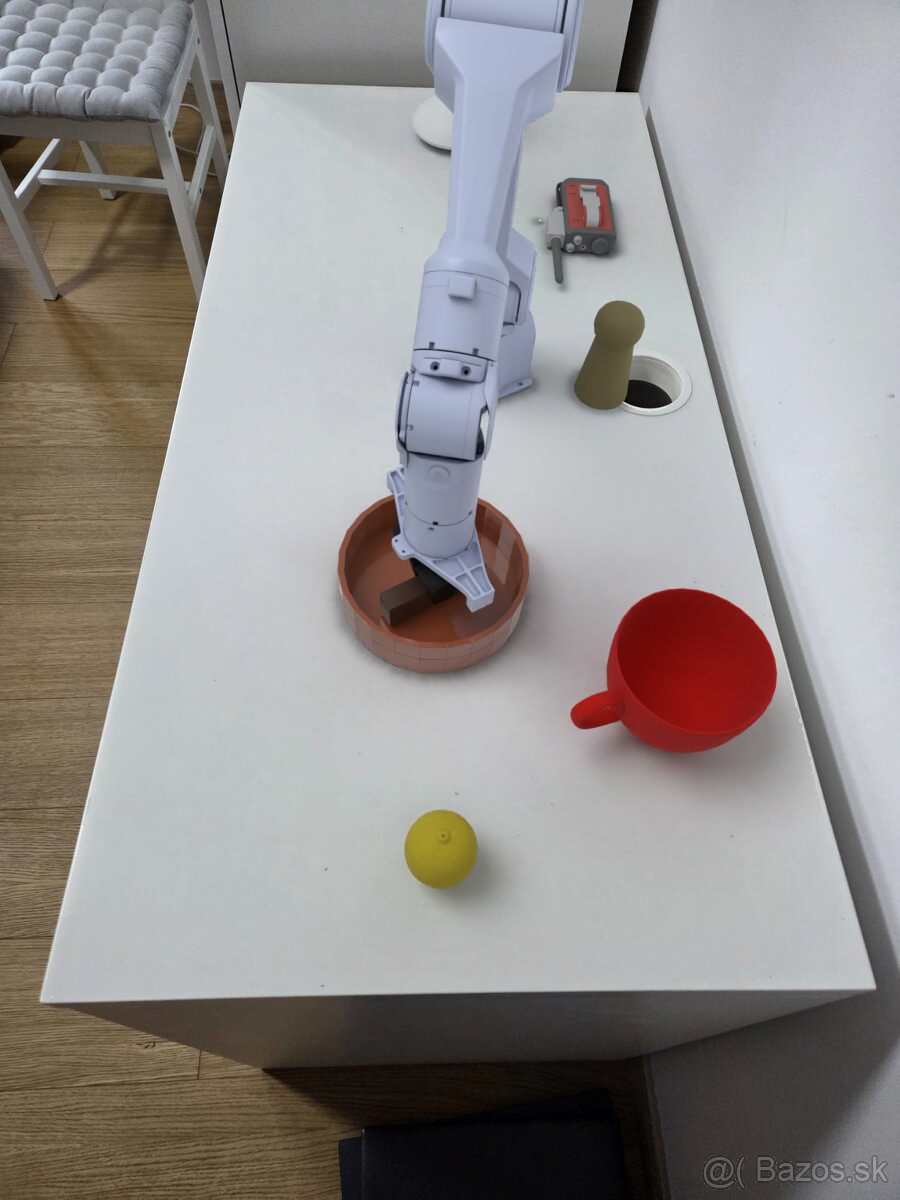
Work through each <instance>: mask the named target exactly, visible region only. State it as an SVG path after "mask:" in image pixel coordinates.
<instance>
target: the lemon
mask: <svg viewBox="0 0 900 1200" xmlns="http://www.w3.org/2000/svg"><path fill="white" fill-rule="evenodd" d="M405 837H406V838H405V840H404V850H403V851H404V853H403V854H404V858H405V863H406V866H407V867H408V869H409V872H410V873H411V874H412V876H414V878H415V879H416V880H417V881H419V882H420V883H422V884H423V885H425V886H427V887H431V888H434V889H447V888H452V887H454V886H456V885H458V884H460V883H462V882H463V881H464V880H465V879H466V878H467V877H468V876H469V875H470V874H471V872H472V871H473V869H474V867H475V865H476V861H477V859H478V848H479V846H478V839H477V835H476V832H475V831H474V829H473V827H472V825H471V824H470V822H469V821H468V820H467V819H466V818H465V817H463V816H462V815H461V814H459V813H458V812H455V811H453V810H447V809H435V810H431V811H429V812H426V813H424V814H423V815H421V816H420V817H418V818H417V819H416V820H415V821H414V823H412V824H411V826H410V828H409V830H408V832H407V833H406V836H405Z"/></svg>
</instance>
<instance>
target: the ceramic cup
mask: <svg viewBox="0 0 900 1200" xmlns="http://www.w3.org/2000/svg"><path fill="white" fill-rule="evenodd" d="M614 632H615V633H614V635H613V637H612V640H611V644H610V648H609V652H608V657H607V663H606V688H607V690H604V691H600V692H596V693H594V694H591V695H589V696H587V697H585V698H583V699H582V700H580V701H579V702H576V704H575V705H574V706H572V708H571V709H570V712H569V716H570V717H569V718H570V720H571V722H572V723H573V725H574V726H575V727H576V728H577V729H579V730H591V729H596V728H600V727H604V726H607V725H610V724H614V723H617V722H621V723H622V724H623V726H624V727H625V728H626V729H627V730H628V731H629V732H630V733H631V734H632V735H633V736H634V737H636V738H637V739H638V740H640V741H641V742H643V743H644V744H646V745H648V746H651V747H653V748H655V749H658V750H660V751H665V752H668V753H676V754H694V753H701V752H706V751H708V750H712V749H715V748H718V747H720V746H722V745H724V744H726V743H728V742H729V741H731V740H733V739H735V738H736V737H738V736H739V735H741V734H742V733H744V732H745V731H747V730H748V729H749V728H750V727H751V726H753V724H754V723H755V722H757V721H758V720H759V719H760V718H761V717H762V716H763V715H764V713H765V712H766V710H767V709H768V707H769V706H770V704H771V703H772V701H773V698H774V694H775V691H776V689H777V679H778V670H777V662H776V657H775V654H774V651H773V648H772V646H771V645H772V644H770V642H769V640H768V638H767V636H766V634H765V633H764V630H762V628H761V627H760V626H759V625H758V623H756V621H755V620H754V619H753V618H752V617H751V616H750V615H748V614H747V612H745V611H744V610H743V609H742V608H740V607H739V606H737V605H736V604H734V603H733V602H731V601H729V600H728V599H726V598H723V597H721V596H719V595H717V594H715V593H713V592H708V591H704V590H700V589H696V588H695V589H694V588H685V587H680V588H679V587H678V588H667V589H663V590H659V591H656V592H652V593H651V594H648V595H646V596H644V597H642V598H641V599H639V600H638V601H637V602H636V603H634V604H633V605H632V606H631V607H630V608H629V609H628V610H627V612H626V613H625V614H624V615H623V617H622V618H621V620H620V622H619V624H618V626H617V628H616V630H615V631H614Z"/></svg>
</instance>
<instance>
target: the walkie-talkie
mask: <svg viewBox="0 0 900 1200" xmlns="http://www.w3.org/2000/svg"><path fill="white" fill-rule="evenodd" d="M555 186H556V187H555V195H556V196H555V197H556V206H555V207H554V209H553V210H552V211H551V212H550V213H549V214H548V215H547V219H546V224H545V235H546V238H545V247H546V248H550V249H551V252H552V253H551V254H552V263H553V271H554V281H555V283H557V284H558V285H561V284H563V282H564V271H563V263H562V262H563V261H562V250H561V249H563V250H564V251H565V252H568V253H572V252H575V253H593V254H596V255H602V254H611V253H612V252H613V249H614V245H615V243H616V240H617V229H616V225H615V224H616V223H615V217H614V216H615V215H614V213H613V212H614V210H613V205H612V203H613V202H612V198H611V192H610V191H611V190H610V185H608V184H607V182H605V181H604V180H603V179H600V178H587V177H586V178H584V177H567V178H565V179H564V180H563V181H559V182H558V183H557V184H556V185H555Z"/></svg>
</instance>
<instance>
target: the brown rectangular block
mask: <svg viewBox="0 0 900 1200" xmlns="http://www.w3.org/2000/svg"><path fill="white" fill-rule="evenodd" d="M484 565H485V569H486V564H485V562H484ZM459 593H461V591H460V590H459V589H456V591H455V593H454V594H453V596H454V595H456V594H459ZM379 595H380V610H381V612H382V614H383V615H384V617H385V619H386V620H387V622H388V623H389V625H390V626H391V625H394V624H396V623H398V622H400V621H402V620H404V619H406V618H408V617H410V616H412V615H415V614H417V613H419V612H421V611H423V610H425V609H427V608H429V607H431V606H433V605H434V604H433V603H432V601H431V600H430V598H429V596H428V593H427V586H426V585H425V584H424V582H423V581H422V579H421V578H420V576H419V575H418V576H415V577H413V578H411V579H409V580H407V581H405V582H402V583H400V584H398V585H396V586H394V587H392V588H389V589H387V590H385V591H383V592H381V593H379Z"/></svg>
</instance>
